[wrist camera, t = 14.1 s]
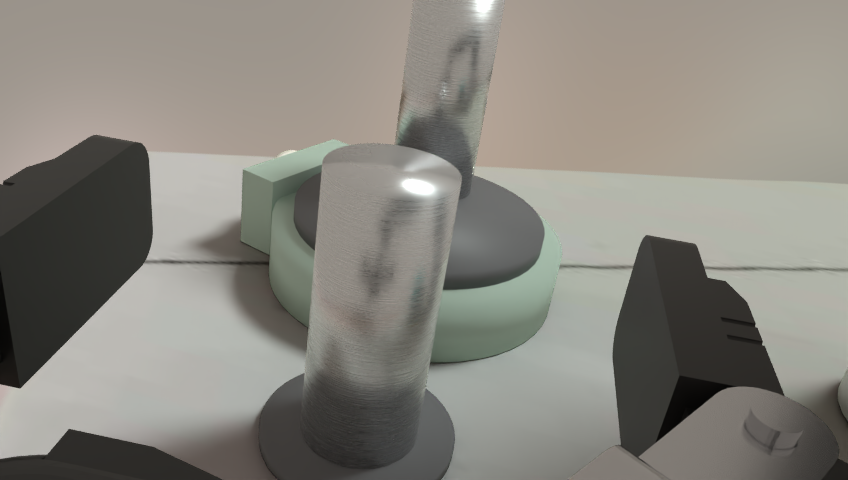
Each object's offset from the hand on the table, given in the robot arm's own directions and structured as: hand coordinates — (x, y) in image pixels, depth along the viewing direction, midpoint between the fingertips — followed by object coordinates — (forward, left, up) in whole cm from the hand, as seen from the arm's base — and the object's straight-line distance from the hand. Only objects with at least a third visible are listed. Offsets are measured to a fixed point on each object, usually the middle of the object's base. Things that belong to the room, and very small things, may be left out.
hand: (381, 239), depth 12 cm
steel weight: (+6, -9, -13) cm, 17 cm away
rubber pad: (+6, -9, -13) cm, 17 cm away
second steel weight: (+12, -23, -10) cm, 28 cm away
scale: (+11, -20, -13) cm, 26 cm away
